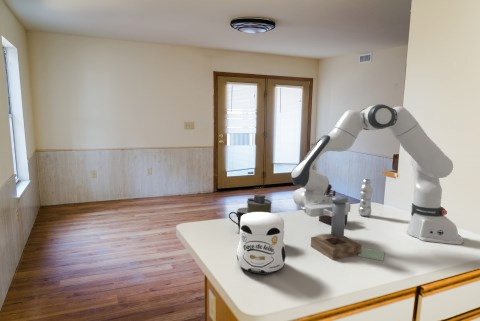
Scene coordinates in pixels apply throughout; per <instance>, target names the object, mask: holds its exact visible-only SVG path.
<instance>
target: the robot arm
mask: <svg viewBox="0 0 480 321" xmlns="http://www.w3.org/2000/svg"><path fill="white" fill-rule="evenodd" d="M383 129H389V130H390V131H391V132H392V134H393V135H394V137H395V138H396V140H397V141H398V143H399V144H400V146H401V147H402V148H403V149H404V152H406V153H407V154H408V155H409V156H410V158H411V159H410V163H411V166H412V173H413V174H412V176H413V182H414V183H413V184H414V188H413V189H414V190H413V191H414V192H413V200H412V204H411V209H410V221H409V225H408V227H407V229H406V233H407V234H408V235H410V236H411V237H415V238H417V239H419V240H421V241H423V242H432V243H440V244H448V245H449V244H450V245H451V244H452V245H462V244H464V238H463V237H462V235H460V234H459V232H458V227H457V225H456V224H455V223H454V222H453V221H452V220H451V219H449V218H448V217H447V216H446V215H447V214H448V211H447V210H446V209H445V208H444V206H441V204H442V196H443V194H442V192H443V190H442V189H443V188H442V185H441V182H440V179H442V178H446V177H448V176H450V175H451V174H452V172H453V169H454V163H453V161H452V160H451V159H450V157H448V155H446V153H444V151H442V149H441V148H440V147H439V146H438V145H437V144H436V143H435V142H434V141H433V140H432V138H430V136H428V135H427V134H428V133H426V131H425V129H423V127H422V126H421V125H420V123H419V122H418V120H417V119H416V118H415V116H414V115H413V114H412V113H411V112H410V111H409V110H407V108H406V107H404V106H401V105H397V106H394V107H390V106H388V105H386V104H381V103H380V104H373V105H370V106H368V107H366V108H363V109H362V110H360V111H358V110H356V109H347V110H346V111H345V112H344V113H343V114H342V116H340V118H339V119H338V120H337V121H336V123H335V125H334V126H333V128H332V130H331V131H330V132H329V133H328V134H326V135H325V134H324V135H322V136H321V137H320V138H319V139H317V140H316V142H315V143H314V144H313V145H312V147H311V148H310V150H309V151H308V152H307V153H306V154H305V156H304V157H303V158H302V159H301V161H299V162H298V164H297V165H296V166H294V167H293V169H292V171H291V173H290V179H291V182H292V184H293V185H294V186H297V187H299V188H297V189H296V190H294V191H293V194H292V199H293V202H294V204H295V205H296V206H297V207H298V208H300V210H301V211H304V214H305V215H307V216H309V217H311V218H316V217H319V216H324V215H327V216H331V217H333V216H335V212H333V211H332V206H333V202H332V201H331V197H332V196H333V195H332V196H329V195H325V194H326V192H327V190H328V187H329V184H330V182H329V178H328V177H327V176H326V175H324V174H322V173H320V172H318V171H316V170H315V169H313V167H314V165H315V164H316V163H317V162H318V160H319V159H320V158H321V157H322V155H323V154H325V153H327V152H337V153H338V152H345V151H348V150H349V149H351V148H352V147H353V145H354V144H355V141H356V140H357V138H358V137H359V135H360V133H361V132H362V130H365V131H379V130H383ZM351 207H352V205H351V203H350V202H349V201H348V202H347V203H346V208H345V215H347V214H348V215H349V212H351V209H352V208H351Z"/></svg>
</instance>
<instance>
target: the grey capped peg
mask: <svg viewBox="0 0 480 321" xmlns="http://www.w3.org/2000/svg"><path fill="white" fill-rule="evenodd" d="M331 201H332V202H333V206H332V211H333V212H335V216H333V217H332V225H331V227H330V234H331V235H332V236H335V237H343V236H345V225H346V224H345V208H346V203H347V202H348V203H349V198H348V197H346V196H341V195H335V196H333V195H332V197H331Z"/></svg>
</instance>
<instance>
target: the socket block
mask: <svg viewBox="0 0 480 321" xmlns="http://www.w3.org/2000/svg"><path fill="white" fill-rule="evenodd" d="M310 247H311V248H312V249H314V250H316V251H317V252H319V253H320V254H322V255H323V256H325V257H327V258H329V259H330V260H332V261H335V260H339V259H345V258H349V257H350V258H351V257H354V256H355V257H356V256H358V254H361V248H363V245H362V244H361V243H359V242H357V241H355V240H353V239H351V238H349V237H347V236H345V235H344V236H343V237H335V236H332V235H331V233H328V234H324V235H322V234H321V235H317V236H311V238H310Z"/></svg>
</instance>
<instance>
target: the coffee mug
mask: <svg viewBox="0 0 480 321" xmlns="http://www.w3.org/2000/svg"><path fill="white" fill-rule="evenodd" d="M232 214H235V215H236V217H237V221H235V220H234V219H232V217H231V215H232ZM244 214H247V207H238V208H237V209H236V211H231V212H230V213H228V218H229V219H230V221H232V222H233V223H234V224H236V225H237V227H238V232H239V233H240V220H241V216H242V215H244Z"/></svg>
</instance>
